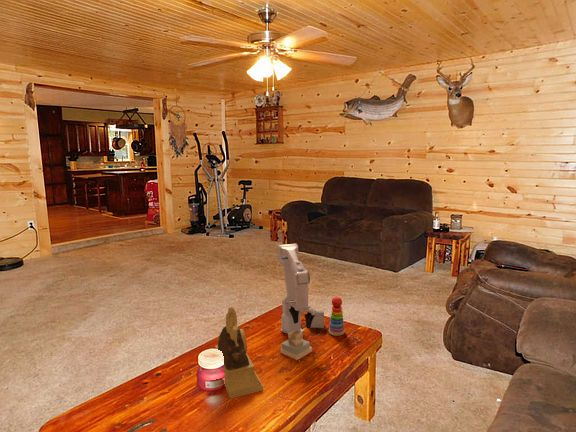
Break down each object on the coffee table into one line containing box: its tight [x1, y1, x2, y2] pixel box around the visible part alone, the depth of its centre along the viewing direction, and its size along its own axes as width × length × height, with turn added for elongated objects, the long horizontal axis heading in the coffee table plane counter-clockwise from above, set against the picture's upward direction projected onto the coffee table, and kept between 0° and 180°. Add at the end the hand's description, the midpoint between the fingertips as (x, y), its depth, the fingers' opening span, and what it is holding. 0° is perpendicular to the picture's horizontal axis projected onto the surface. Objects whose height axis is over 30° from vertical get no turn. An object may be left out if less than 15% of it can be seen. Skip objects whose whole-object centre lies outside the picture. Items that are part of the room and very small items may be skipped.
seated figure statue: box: [214, 306, 264, 399], centre depth 156 cm, size 28×13×30 cm, turn 22°
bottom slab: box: [280, 346, 313, 361], centre depth 176 cm, size 10×10×2 cm
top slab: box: [280, 339, 311, 355], centre depth 175 cm, size 9×9×2 cm
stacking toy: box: [328, 296, 346, 337], centre depth 192 cm, size 8×8×19 cm
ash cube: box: [287, 330, 304, 346], centre depth 175 cm, size 5×5×5 cm
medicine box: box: [309, 308, 325, 329], centre depth 200 cm, size 8×4×9 cm, turn 84°
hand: (302, 325), depth 179 cm, fingers open, 7 cm apart
